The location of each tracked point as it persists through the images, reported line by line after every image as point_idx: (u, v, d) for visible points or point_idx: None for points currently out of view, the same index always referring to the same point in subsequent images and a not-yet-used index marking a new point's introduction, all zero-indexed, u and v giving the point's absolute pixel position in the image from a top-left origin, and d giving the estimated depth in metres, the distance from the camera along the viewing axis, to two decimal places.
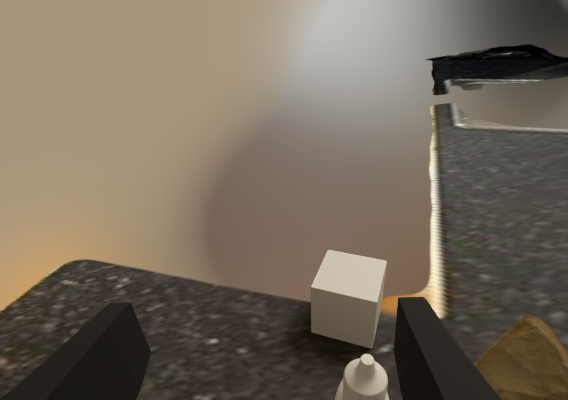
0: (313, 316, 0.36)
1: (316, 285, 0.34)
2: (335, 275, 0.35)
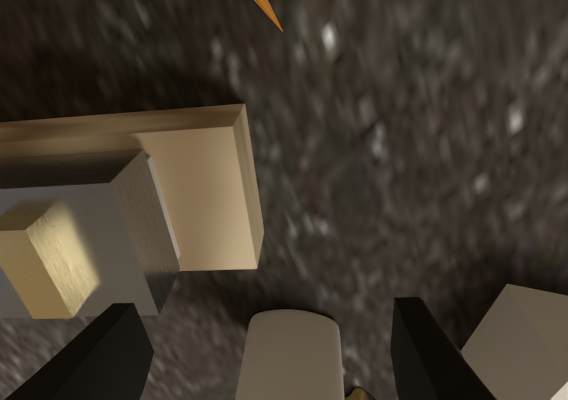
0: (524, 317, 0.19)
1: None
2: None
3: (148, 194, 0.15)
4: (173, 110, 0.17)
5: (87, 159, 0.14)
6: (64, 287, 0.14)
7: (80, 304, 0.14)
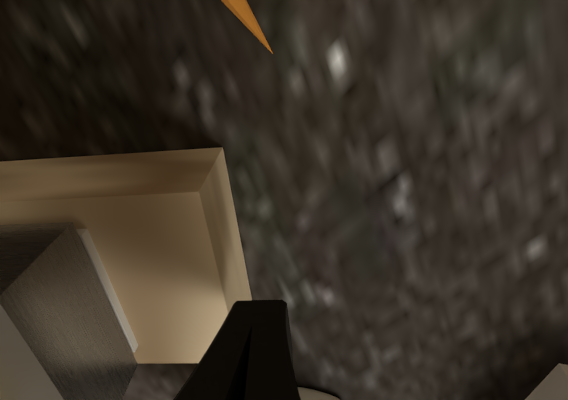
0: None
1: None
2: None
3: (80, 285, 0.10)
4: (126, 156, 0.12)
5: None
6: None
7: None
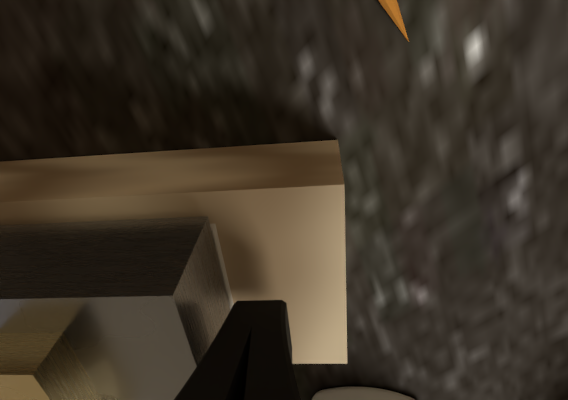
0: None
1: None
2: None
3: (213, 283, 0.10)
4: (236, 149, 0.12)
5: (126, 235, 0.09)
6: None
7: None
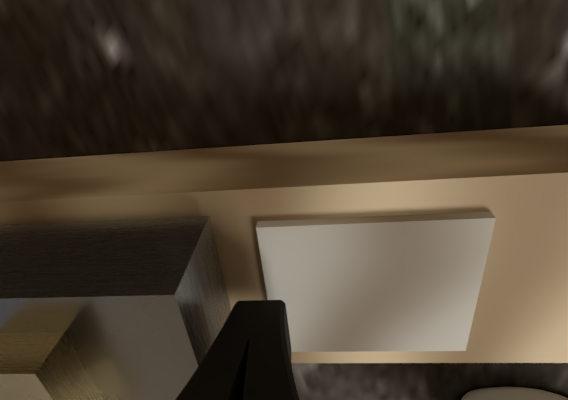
0: None
1: None
2: None
3: (214, 282, 0.10)
4: (468, 133, 0.11)
5: (127, 234, 0.09)
6: None
7: None
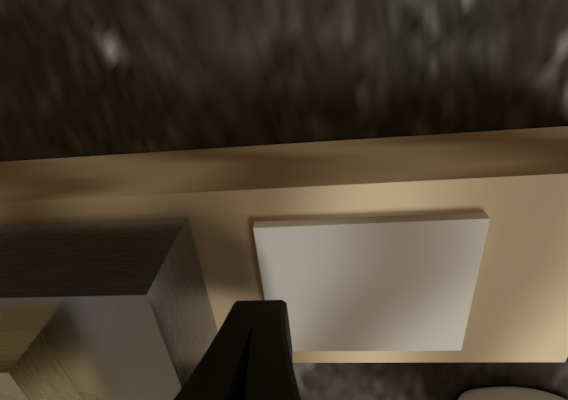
0: None
1: None
2: None
3: (192, 282, 0.10)
4: (464, 135, 0.11)
5: (105, 235, 0.09)
6: None
7: None
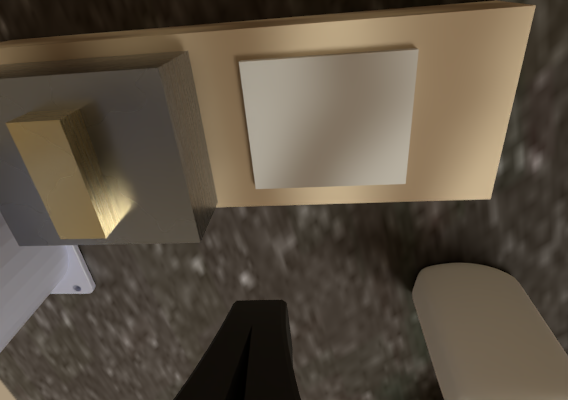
0: None
1: None
2: None
3: (191, 103, 0.13)
4: (409, 8, 0.14)
5: (125, 58, 0.12)
6: (98, 201, 0.12)
7: (113, 225, 0.13)
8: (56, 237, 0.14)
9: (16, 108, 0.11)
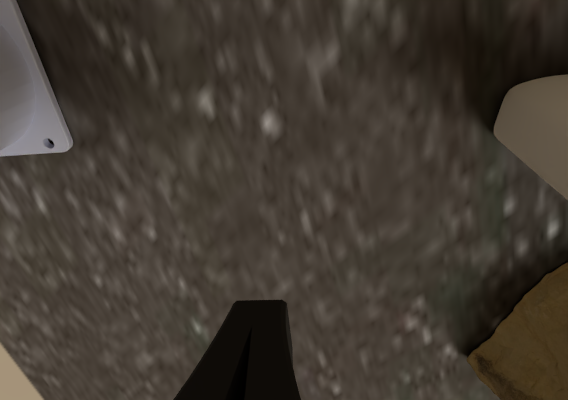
0: None
1: None
2: None
3: None
4: None
5: None
6: None
7: None
8: None
9: None
